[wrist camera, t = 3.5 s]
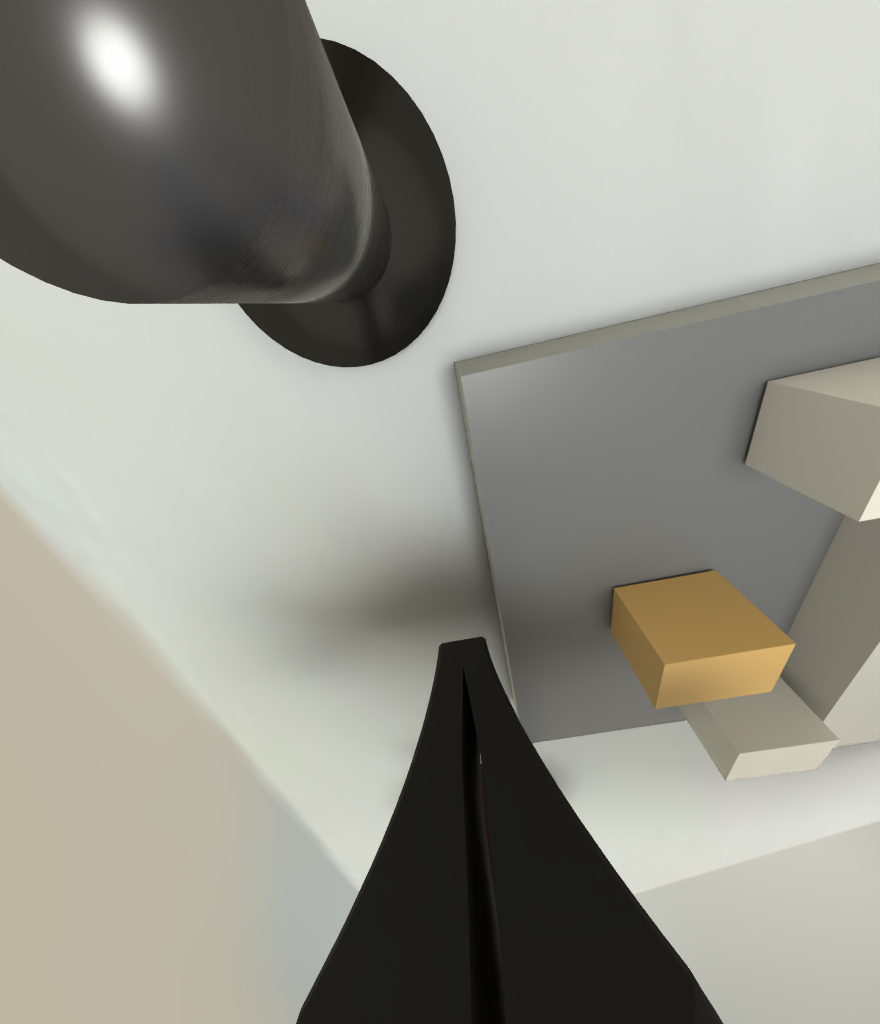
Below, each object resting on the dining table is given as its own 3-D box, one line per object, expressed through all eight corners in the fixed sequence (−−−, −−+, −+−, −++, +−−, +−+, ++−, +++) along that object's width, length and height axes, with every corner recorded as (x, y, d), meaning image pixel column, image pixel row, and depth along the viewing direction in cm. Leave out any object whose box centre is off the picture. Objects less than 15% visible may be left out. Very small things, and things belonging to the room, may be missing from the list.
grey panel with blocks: (1050, 223, 8) (1692, 141, 4) (809, 653, 16) (936, 769, 12) (453, 362, 9) (478, 410, 5) (513, 700, 17) (540, 821, 13)
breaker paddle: (715, 570, 10) (795, 643, 8) (703, 615, 11) (771, 691, 9) (613, 588, 11) (664, 664, 8) (610, 630, 12) (655, 708, 9)
